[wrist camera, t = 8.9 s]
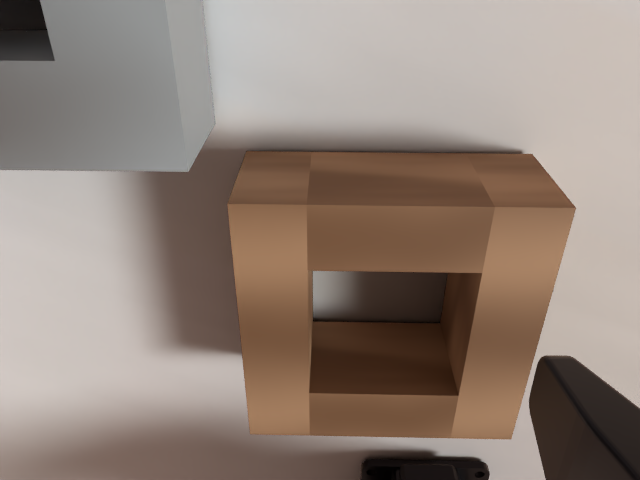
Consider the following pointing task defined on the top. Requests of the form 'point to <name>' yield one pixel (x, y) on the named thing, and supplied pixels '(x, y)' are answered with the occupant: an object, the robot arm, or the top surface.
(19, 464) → the top surface
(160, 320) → the top surface
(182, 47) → the socket block
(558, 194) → the pin mount
